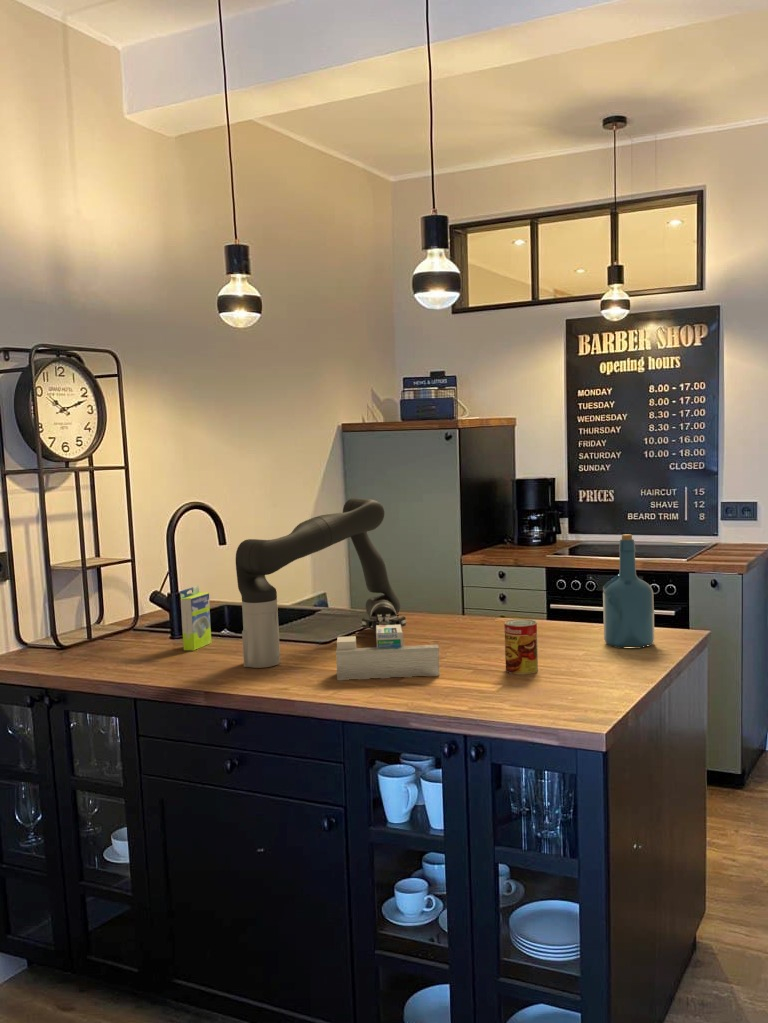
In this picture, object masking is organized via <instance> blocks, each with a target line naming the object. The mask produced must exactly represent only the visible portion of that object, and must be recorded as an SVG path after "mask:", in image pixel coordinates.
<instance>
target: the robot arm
mask: <svg viewBox="0 0 768 1023" xmlns="http://www.w3.org/2000/svg"><path fill="white" fill-rule="evenodd" d="M384 519H385V509H384V507H383V505H382V504H381V502H379V501H377V500H375V499H372V498H362V497H361V498H360V497H351V498H349V499H347V501H346V502H345V503H344V504H343V509H342V512H336V513H329V514H328V513H327V514H322V515H317V516H314V517H311V518H309V519H307V520H304V521H302V522H300V523H299V524H297V525H296V526H295V528H293V530H292V531H291V532H290V533H289V534H287V535H284V536H281V537H277V538H272V539H256V538H253V539H252V538H250V539H249V538H248V539H244V540H243V541H241V542H240V543H239V544H238V546H237V548H236V552H235V570H236V579H237V587H238V591H239V593H240V596H241V608H242V626H243V630H242V631H241V635H242V636H241V637H242V639H241V640H242V654H243V656H242V658H243V668H255V669H258V668H259V669H260V668H262V669H263V668H269V667H275V666H278V665H279V664H281V654H280V653H281V652H280V632H279V631H280V629H279V616H278V615H279V613H278V612H279V611H278V594H277V589H276V587H275V586H273V585H272V584H271V583H270V582H269V581H268V580H267V578H266V576H269V575H271V574H274V573H276V572H278V571H279V570H281V569H282V568H284V567H286V566H288V565H289V564H291V563H292V562H294V561H297V560H299V559H302V558H305V557H307V556H310V555H312V554H314V553H318V552H320V551H322V550H324V549H327V548H328V547H331V546H332V545H336V544H337V543H340V542H342V541H344V540H347V539H348V538H350V540H351V542H352V544H353V547H354V549H355V551H356V554H357V556H358V559H359V562H360V565H361V569H362V573H363V577H364V581H365V586H366V589H367V591H369V592H370V593H373V594H375V593H376V594H380V595H377V596H372V597H369V598H368V599H367V601H366V602H365V611H366V614H367V616H368V617H369V618H368V617H362V618H361V627H362V628H366V629H370V630H373V631H376V625H401V628H402V627H405V626H406V624H407V621H406V618H407V617H406V616H397V615H398V614H399V613H400V611H401V603H400V600H399V599H398V596H397V595H396V594H395V592H394V590H393V588H392V586H391V584H390V583H391V582H390V581H389V576H388V575H389V574H388V572H387V568H386V564H385V561H384V559H383V557H382V556H381V554H380V553H379V551H378V550H377V547H375V546H374V544H373V542H372V541H371V539H370V536H369V534H368V532H371V531H373V530H376V529H377V528H378V527H380V525H381V524H382V523H383V521H384Z"/></svg>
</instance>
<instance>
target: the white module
mask: <svg viewBox="0 0 768 1023" xmlns="http://www.w3.org/2000/svg"><path fill="white" fill-rule="evenodd" d="M336 639H337V640H336V649H349V648H357V637H356V636H355V635H354V636H353V635H352V636H338V637H337V638H336Z"/></svg>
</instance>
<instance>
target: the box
mask: <svg viewBox="0 0 768 1023" xmlns="http://www.w3.org/2000/svg"><path fill="white" fill-rule="evenodd" d="M199 588H200V587H199V585H196V586H193V587H192V586H191V587H189V588H186V589H182V590H179V597H180V610H181V611H180V612H181V628H182V629H181V630H182V642H183V643H182V646H183V651H196V650H198V649H201V648H202V647H206V646H207V645H210V644H212V629H211V627H212V626H211V612H210V609H211V608H210V606H211V605H210V592H202V591H201V592H200V589H199ZM190 591H191V592H190ZM188 592H189V593H188Z"/></svg>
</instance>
